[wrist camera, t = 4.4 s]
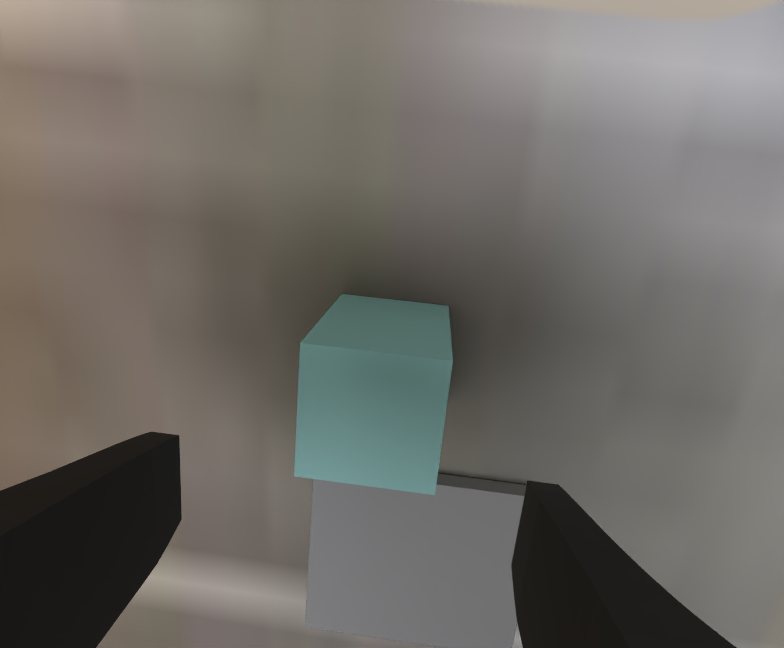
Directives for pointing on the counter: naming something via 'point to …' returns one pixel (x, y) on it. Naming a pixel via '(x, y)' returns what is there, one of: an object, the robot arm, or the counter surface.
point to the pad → (415, 562)
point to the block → (374, 394)
